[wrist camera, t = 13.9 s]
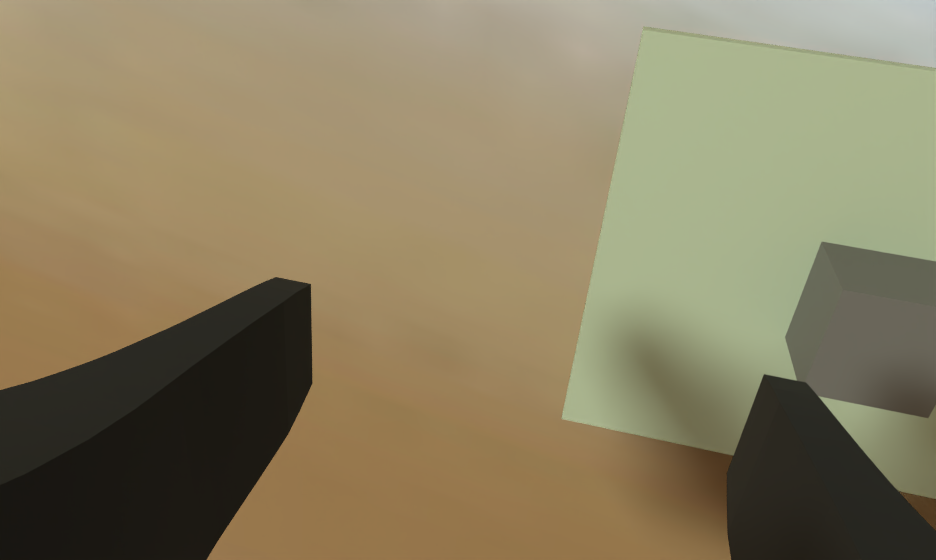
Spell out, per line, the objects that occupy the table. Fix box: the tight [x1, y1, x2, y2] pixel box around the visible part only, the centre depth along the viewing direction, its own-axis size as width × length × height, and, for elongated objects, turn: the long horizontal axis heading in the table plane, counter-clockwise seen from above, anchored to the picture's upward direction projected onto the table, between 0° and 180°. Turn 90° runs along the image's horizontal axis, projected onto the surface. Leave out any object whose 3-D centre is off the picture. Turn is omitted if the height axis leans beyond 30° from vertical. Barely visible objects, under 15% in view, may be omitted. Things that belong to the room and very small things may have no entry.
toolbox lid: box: [562, 27, 936, 499], centre depth 19 cm, size 12×12×4 cm
